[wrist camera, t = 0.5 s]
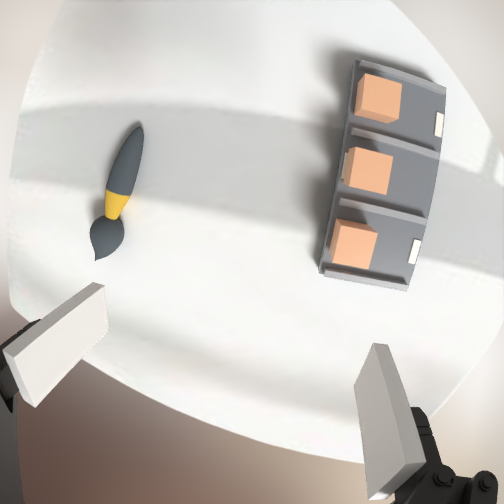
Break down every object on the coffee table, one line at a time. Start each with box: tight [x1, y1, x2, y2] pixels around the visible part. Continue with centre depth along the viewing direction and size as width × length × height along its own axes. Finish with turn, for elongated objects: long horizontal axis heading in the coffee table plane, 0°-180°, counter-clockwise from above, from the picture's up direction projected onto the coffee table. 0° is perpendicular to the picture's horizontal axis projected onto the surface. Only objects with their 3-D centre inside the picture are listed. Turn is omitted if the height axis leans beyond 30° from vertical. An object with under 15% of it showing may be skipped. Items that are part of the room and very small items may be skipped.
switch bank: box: [318, 59, 446, 291], centre depth 31 cm, size 26×12×3 cm, turn 172°
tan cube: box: [329, 218, 378, 269], centre depth 31 cm, size 4×4×4 cm
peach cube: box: [343, 147, 393, 195], centre depth 29 cm, size 4×4×4 cm
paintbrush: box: [90, 127, 144, 261], centre depth 36 cm, size 20×5×5 cm, turn 163°
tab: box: [354, 73, 402, 124], centre depth 26 cm, size 4×4×4 cm
